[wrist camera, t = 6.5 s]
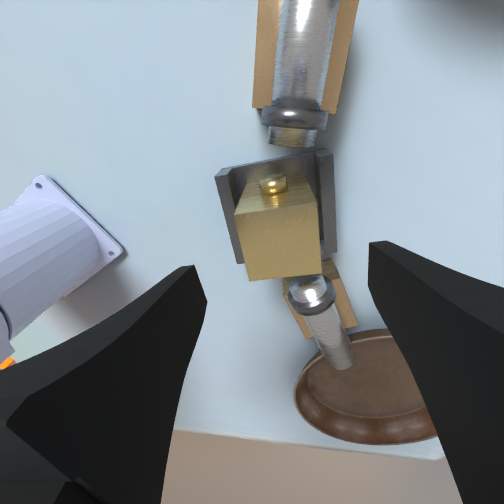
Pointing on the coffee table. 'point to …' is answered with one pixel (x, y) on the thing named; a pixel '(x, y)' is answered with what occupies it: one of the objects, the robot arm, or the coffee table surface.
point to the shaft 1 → (300, 65)
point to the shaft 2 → (323, 312)
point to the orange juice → (6, 363)
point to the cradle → (310, 164)
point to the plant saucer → (365, 395)
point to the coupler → (279, 228)
